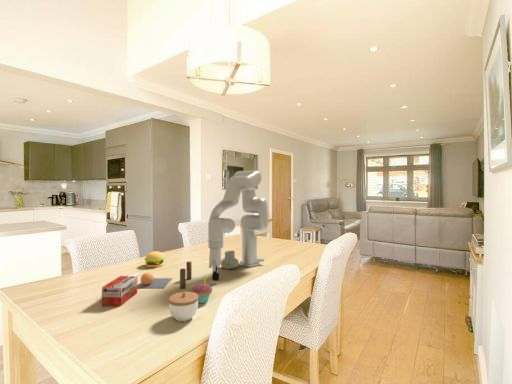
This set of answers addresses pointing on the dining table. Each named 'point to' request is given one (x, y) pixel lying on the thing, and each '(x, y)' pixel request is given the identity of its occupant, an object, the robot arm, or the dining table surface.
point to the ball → (147, 278)
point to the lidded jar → (183, 305)
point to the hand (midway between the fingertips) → (215, 280)
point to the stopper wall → (137, 275)
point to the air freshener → (229, 260)
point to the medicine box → (119, 291)
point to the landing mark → (156, 283)
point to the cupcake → (202, 291)
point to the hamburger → (154, 259)
